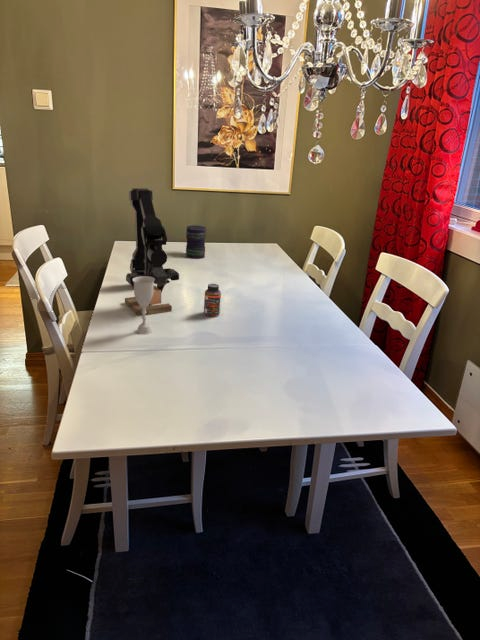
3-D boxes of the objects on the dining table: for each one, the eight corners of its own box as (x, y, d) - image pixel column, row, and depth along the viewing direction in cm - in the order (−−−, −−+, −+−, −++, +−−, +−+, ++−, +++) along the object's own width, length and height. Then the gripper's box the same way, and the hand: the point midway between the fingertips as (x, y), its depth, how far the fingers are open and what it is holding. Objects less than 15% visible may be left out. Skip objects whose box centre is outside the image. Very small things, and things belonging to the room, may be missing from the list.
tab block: (145, 299, 184) (145, 286, 182) (155, 298, 186) (155, 285, 184) (151, 304, 179) (151, 291, 177) (161, 303, 181) (161, 290, 179)
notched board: (124, 303, 185) (124, 298, 184) (157, 298, 191) (157, 293, 190) (137, 316, 174) (137, 310, 173) (171, 311, 180) (171, 306, 179)
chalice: (146, 325, 167) (145, 274, 160) (159, 331, 163) (159, 279, 156) (128, 331, 162) (127, 279, 155) (142, 337, 158) (141, 284, 151)
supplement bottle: (205, 317, 177) (206, 287, 172) (202, 311, 182) (203, 282, 178) (221, 316, 178) (223, 287, 174) (217, 310, 184) (219, 282, 179)
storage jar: (183, 254, 254) (183, 225, 248) (200, 253, 258) (201, 225, 252) (189, 259, 245) (190, 230, 240) (207, 258, 249) (209, 229, 244)
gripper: (135, 266, 165) (136, 309, 171) (185, 261, 175) (184, 302, 181) (124, 257, 174) (125, 299, 180) (173, 253, 183) (172, 293, 189)
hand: (153, 298), depth 182 cm, fingers closed on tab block, 4 cm apart
